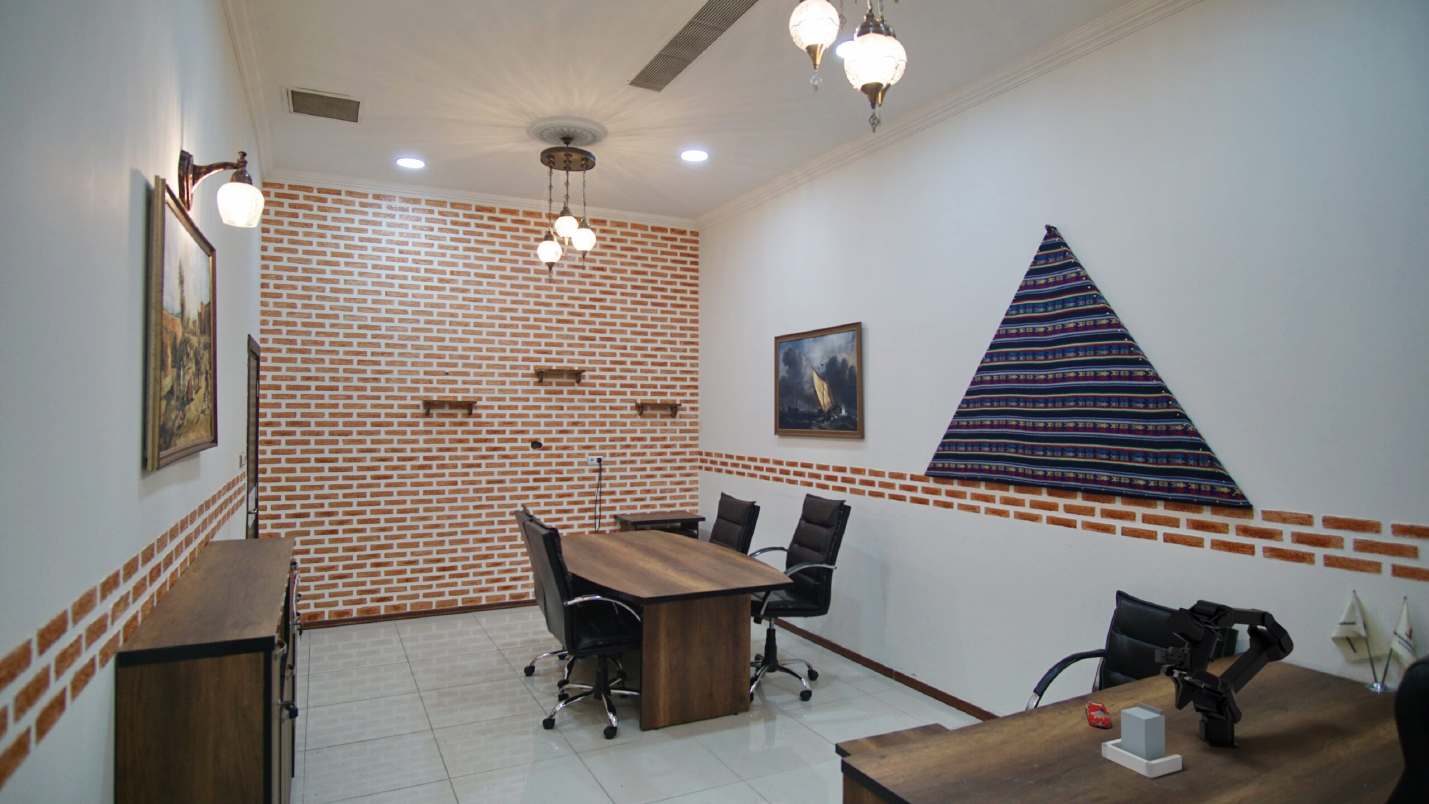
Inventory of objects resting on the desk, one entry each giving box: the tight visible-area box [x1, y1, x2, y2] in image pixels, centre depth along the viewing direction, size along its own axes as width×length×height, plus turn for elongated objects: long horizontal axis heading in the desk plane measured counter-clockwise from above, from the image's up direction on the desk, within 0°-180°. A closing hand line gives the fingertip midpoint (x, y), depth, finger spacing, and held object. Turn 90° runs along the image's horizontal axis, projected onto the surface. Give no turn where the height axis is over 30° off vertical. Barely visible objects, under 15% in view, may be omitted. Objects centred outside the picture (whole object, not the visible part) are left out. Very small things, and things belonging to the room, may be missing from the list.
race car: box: [1085, 701, 1111, 728], centre depth 203 cm, size 13×5×4 cm, turn 158°
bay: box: [1101, 738, 1183, 779], centre depth 177 cm, size 11×12×3 cm
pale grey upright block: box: [1120, 702, 1166, 761], centre depth 178 cm, size 7×6×12 cm
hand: (1177, 709), depth 185 cm, fingers closed
